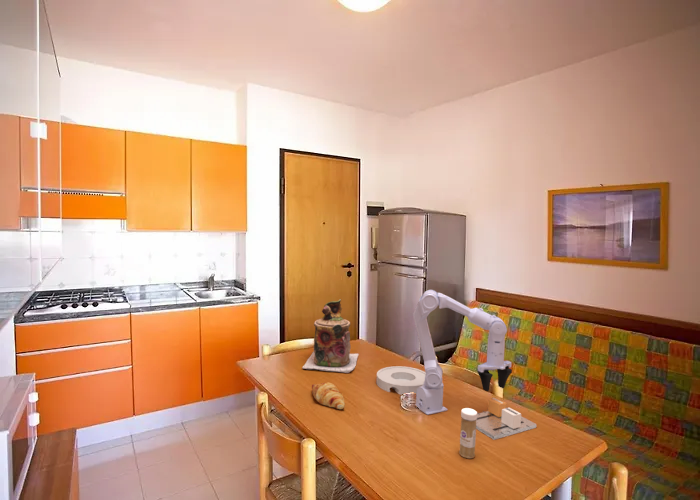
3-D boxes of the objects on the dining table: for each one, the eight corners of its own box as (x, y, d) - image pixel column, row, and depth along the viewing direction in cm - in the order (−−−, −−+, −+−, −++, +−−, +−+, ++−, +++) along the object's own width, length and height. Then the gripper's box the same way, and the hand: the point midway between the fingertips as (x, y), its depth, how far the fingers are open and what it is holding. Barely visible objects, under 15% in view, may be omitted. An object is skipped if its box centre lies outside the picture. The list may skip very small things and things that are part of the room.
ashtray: (389, 398, 155) (389, 388, 155) (368, 377, 177) (368, 368, 177) (440, 392, 163) (440, 383, 162) (414, 372, 185) (414, 364, 184)
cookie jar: (312, 354, 207) (314, 294, 205) (359, 357, 204) (361, 296, 202) (300, 370, 182) (302, 302, 181) (353, 374, 179) (355, 305, 178)
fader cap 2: (513, 428, 130) (513, 414, 130) (501, 422, 135) (501, 408, 134) (520, 426, 132) (521, 412, 132) (508, 420, 136) (509, 406, 136)
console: (495, 440, 125) (495, 436, 125) (461, 419, 139) (461, 415, 139) (537, 428, 134) (538, 424, 134) (502, 409, 148) (502, 406, 148)
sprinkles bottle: (456, 455, 117) (458, 410, 116) (463, 448, 120) (465, 405, 119) (471, 461, 114) (473, 416, 113) (477, 454, 117) (479, 410, 116)
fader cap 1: (498, 417, 138) (499, 403, 138) (487, 411, 143) (488, 398, 143) (505, 415, 140) (506, 402, 140) (494, 409, 144) (495, 396, 144)
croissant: (349, 418, 144) (358, 397, 146) (329, 412, 139) (339, 390, 141) (317, 397, 161) (326, 378, 163) (299, 390, 155) (308, 371, 157)
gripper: (489, 357, 134) (487, 396, 135) (519, 352, 141) (516, 390, 141) (474, 351, 140) (472, 388, 141) (503, 347, 147) (501, 382, 148)
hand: (493, 388), depth 142 cm, fingers open, 7 cm apart
